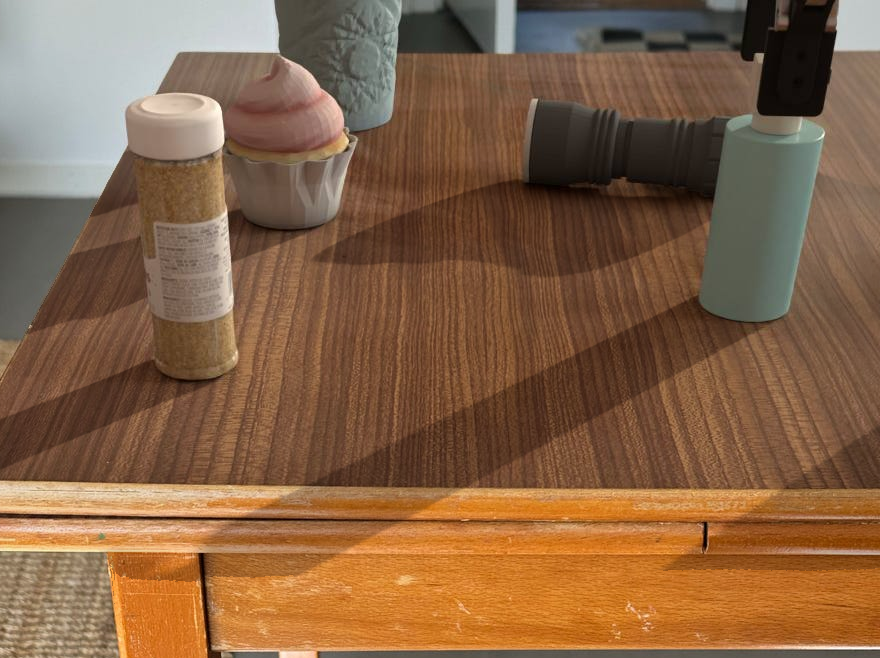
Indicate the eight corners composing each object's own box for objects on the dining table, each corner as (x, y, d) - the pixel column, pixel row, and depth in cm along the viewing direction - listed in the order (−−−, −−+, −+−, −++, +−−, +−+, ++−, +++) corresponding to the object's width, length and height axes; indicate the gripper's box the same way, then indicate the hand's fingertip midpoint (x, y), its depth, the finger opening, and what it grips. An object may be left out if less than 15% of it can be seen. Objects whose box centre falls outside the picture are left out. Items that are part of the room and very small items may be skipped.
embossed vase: (301, 92, 109) (295, -71, 102) (419, 102, 107) (422, -62, 100) (258, 129, 102) (248, -44, 94) (385, 141, 100) (385, -34, 92)
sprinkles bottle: (163, 344, 72) (134, 88, 64) (246, 346, 72) (228, 90, 64) (147, 383, 69) (114, 117, 60) (234, 385, 69) (213, 119, 60)
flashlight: (747, 184, 93) (761, 105, 89) (747, 212, 89) (761, 129, 85) (530, 166, 95) (535, 88, 92) (519, 192, 91) (525, 112, 88)
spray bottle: (695, 282, 79) (783, 287, 79) (701, 319, 75) (793, 325, 75) (733, 43, 71) (831, 47, 71) (741, 70, 67) (845, 75, 67)
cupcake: (219, 191, 91) (206, 36, 85) (354, 187, 92) (351, 33, 86) (217, 243, 84) (204, 77, 77) (364, 238, 84) (363, 74, 78)
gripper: (969, -302, 52) (878, 141, 63) (893, -324, 65) (828, 43, 76) (774, -300, 53) (717, 137, 63) (739, -323, 66) (696, 41, 77)
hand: (778, 86), depth 70 cm, fingers open, 9 cm apart
